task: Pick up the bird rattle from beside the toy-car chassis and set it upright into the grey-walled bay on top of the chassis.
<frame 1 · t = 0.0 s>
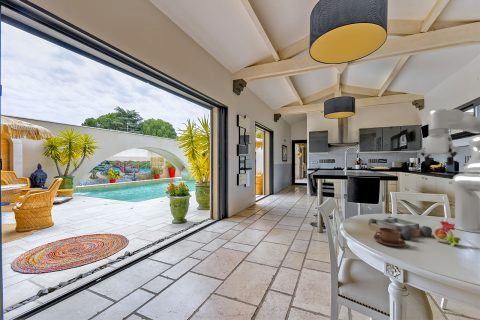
hand: (438, 164, 108), 37 cm above the table, tool pointing down, fingers open, 9 cm apart
cup and saucer: (388, 243, 95), on the table
chassis: (398, 231, 110), on the table
bird rattle: (445, 244, 94), on the table
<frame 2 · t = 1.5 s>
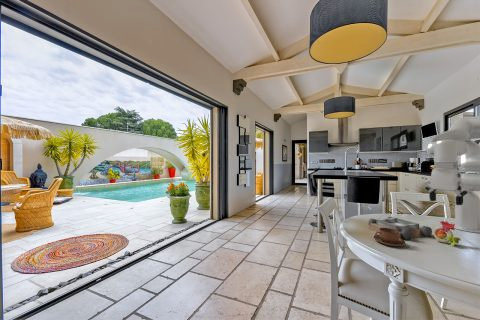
hand: (445, 202, 94), 19 cm above the table, tool pointing down, fingers open, 9 cm apart
nothing on the table moved.
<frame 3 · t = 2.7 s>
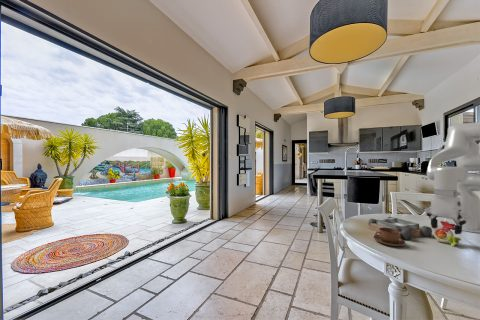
hand: (445, 230, 94), 6 cm above the table, tool pointing down, fingers open, 8 cm apart
bird rattle: (446, 244, 94), on the table, touching gripper
everything else where it was.
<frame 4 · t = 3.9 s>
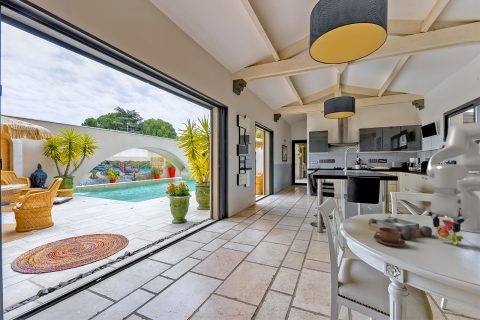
hand: (446, 229, 95), 7 cm above the table, tool pointing down, fingers closed on bird rattle, 6 cm apart
bird rattle: (448, 242, 94), point 1 cm above the table, touching gripper
everything else where it was.
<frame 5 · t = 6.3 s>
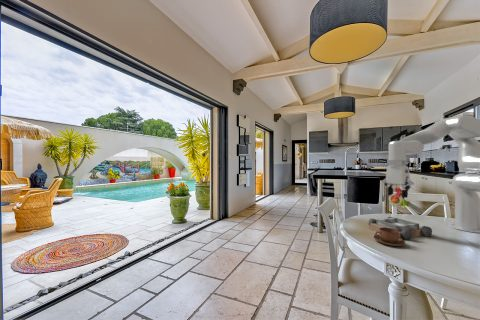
hand: (397, 196, 110), 20 cm above the table, tool pointing down, fingers closed on bird rattle, 6 cm apart
bird rattle: (398, 207, 109), point 13 cm above the table, touching gripper
everything else where it was.
when the fingers open (11 cm above the table, at t = 8.4 s): bird rattle drops 1 cm, resting on chassis.
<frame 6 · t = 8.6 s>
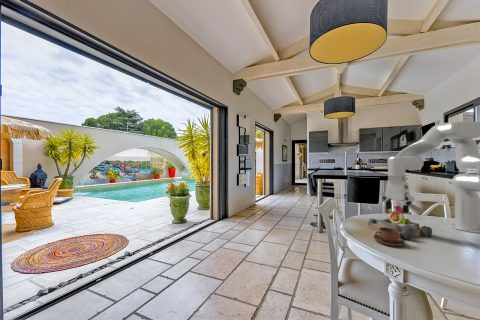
hand: (396, 210, 110), 12 cm above the table, tool pointing down, fingers open, 8 cm apart
bird rattle: (398, 225, 109), point 4 cm above the table, touching chassis
everything else where it was.
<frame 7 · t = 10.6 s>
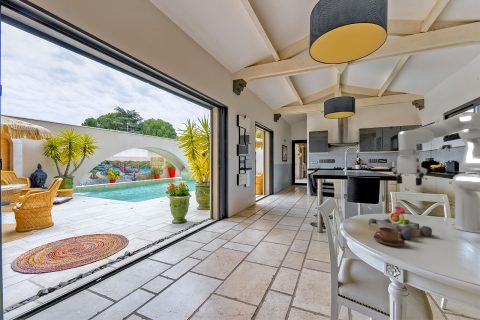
hand: (408, 184, 110), 26 cm above the table, tool pointing down, fingers open, 9 cm apart
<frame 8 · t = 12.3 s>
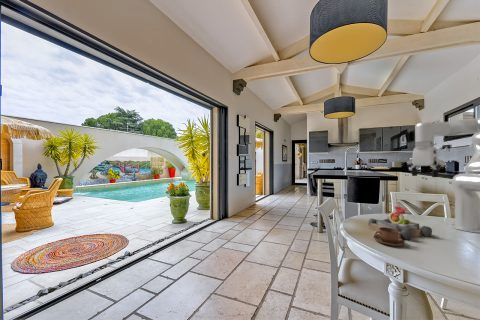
hand: (424, 176, 111), 30 cm above the table, tool pointing down, fingers open, 9 cm apart
nothing on the table moved.
at the end: bird rattle inside the target area on the chassis (0.8 cm from its centre), point 3.4 cm above the chassis's base; bird rattle tilted 5°; the gripper is holding nothing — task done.
